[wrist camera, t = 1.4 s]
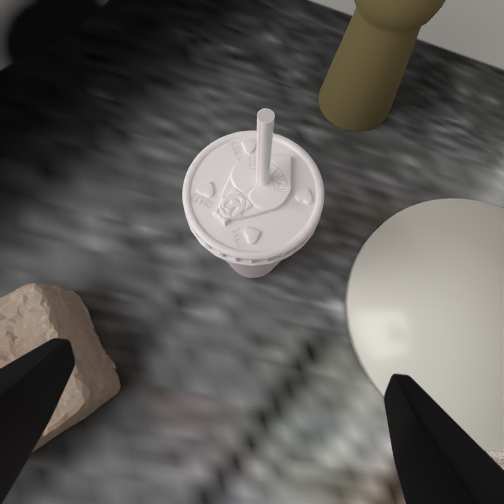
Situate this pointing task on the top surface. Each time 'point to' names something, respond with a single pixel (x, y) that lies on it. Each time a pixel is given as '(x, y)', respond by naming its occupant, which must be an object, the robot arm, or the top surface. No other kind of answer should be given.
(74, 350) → the brick
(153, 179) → the top surface
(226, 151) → the smoothie
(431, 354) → the plate
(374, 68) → the cork
